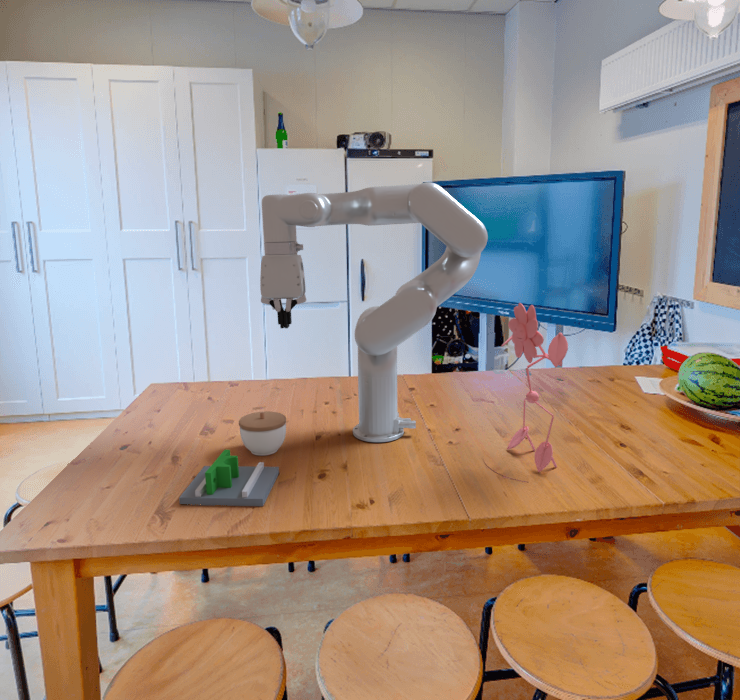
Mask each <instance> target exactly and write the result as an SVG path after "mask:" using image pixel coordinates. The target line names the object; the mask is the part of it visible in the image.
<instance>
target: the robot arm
mask: <svg viewBox="0 0 740 700" xmlns="http://www.w3.org/2000/svg"><path fill="white" fill-rule="evenodd" d="M261 213H262V214H261V215H262V232H263V245H264V247H263V248H264V249H263V250H264V255H262V256H261V262H260V263H261V264H260V275H259V276H260V277H259V278H260V280H259V282H260V283H259V285H260V286H259V287H260V295H261V297H260V303H262V304H266V305H270V306H271V307H272V308H273V309H274V310H275V312H276V313H277V325H279V326H280V327H279V328H280V329H289V327H290V325H292V309H294V307H295V306H296V305H300V304H303V303H305V302H307V297H306V290H307V289H306V288H307V286H306V278H305V277H306V276H305V269H304V264H303V259H302V255H301V254H298V253H299V252H300V251H304V244H303V243H302V244H300V243H299V242H298V239H297V227H307V228H315V227H321V226H322V227H323V226H324V227H325V226H326V227H327V226H337V225H339V226H342V225H360V226H361V225H363V226H386V225H387V226H388V225H402V224H403V225H404V224H407V225H408V224H421V225H422V226H423V227H424V228H425V229H426V230H427V231H428V232H429V233H431V234H432V235H434V237H435V238H437V239H438V240H439V241H440V242H441V243H442V244H444V245H445V246H446V248H445V250H444V252H443V254H442V255H441V256H440V258H439V259H437V260H436V261H435V262H434V263H432V264H430V266H429V267H427V268H426V269H425V270H424V271H422V272H421V273H419V274H417V275H416V276H414V278H412V279H410V280H409V281H407V282H405V283H404V284H402V285H401V286H400V287H399V288H398V289H397V291H396V293H395V294H394V295H393V296H391V297H390V298H389V299H388V300H387V301H385V302H384V303H382V304H381V305H380V306H378V305H375V306H371V307H368V308H367V309H365V310H364V311H362V313H361V314H360V315H359V318H357V322H356V325H355V329H354V341H355V344H356V345H357V382H358V383H357V385H358V386H357V390H358V423H357V424H356V425H354V427H353V428H352V435H353V436H354V437H355V438H356V439H358V440H360V441H364V442H369V443H386V442H392V441H395V440H398V439H399V438H401V437H403V435H404V432H405V431H404V430H405V429H416V425H417V422H416V421H417V420H411V417H406V418H405V417H401V416H400V413H399V412H398V347H399V345H401V344H402V343H404V342H405V341H406V340H409V339H410V338H411V337H412V336H414V335H415V334H417V333H418V332H420V331H421V330H422V329H424V328H425V327H427V325H429V323H430V322H431V321H432V320H433V319H434V317H435V315H436V312H437V308H438V307H440V306H441V304H443V303H444V302H445V301H447V300H448V299H449V298H451V297H452V296H454V294H456V293H457V292H458V291H460V290H461V289H462V288H464V287H465V286H466V284H468V283H469V282H470V280H471V279H472V277H473V276H474V275H475V272H476V271H477V269H478V267H479V263H480V261H481V256H482V255H481V253H482V252H483V251H484V249H486V246H487V242H488V238H489V236H488V231H487V229H486V226H485V224H484V223H483V222H482V221H481V220H479V219H478V218H477V217H476V216H475V215H474V214H472V212H470V211H469V210H468V209H467V208H465V207H464V206H463V205H462V204H461V203H460V202H458V200H456V199H455V198H454V197H453V196H452V195H450V194H449V193H448V192H447V191H446V190H445V189H444V188H443V187H442V186H440V185H439V184H437V183H434V182H431V181H428V182H427V181H426V182H423V183H419V184H418V183H416V184H415V183H414V184H404V185H403V184H401V185H387V186H386V185H383V186H370V187H365V188H362V189H358V190H354V191H346V192H345V191H344V192H332V193H330V192H329V193H315V192H304V193H297V194H292V195H291V194H290V195H289V194H267V195H264V196H263V197H262V199H261ZM283 299H284V300H286V301H285V308H284V307H283V303H282V300H283Z"/></svg>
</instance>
